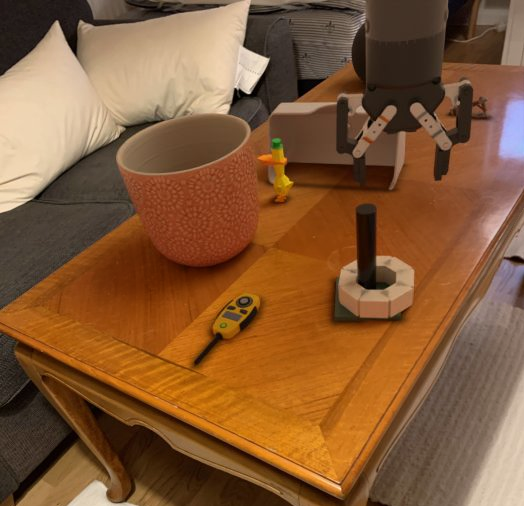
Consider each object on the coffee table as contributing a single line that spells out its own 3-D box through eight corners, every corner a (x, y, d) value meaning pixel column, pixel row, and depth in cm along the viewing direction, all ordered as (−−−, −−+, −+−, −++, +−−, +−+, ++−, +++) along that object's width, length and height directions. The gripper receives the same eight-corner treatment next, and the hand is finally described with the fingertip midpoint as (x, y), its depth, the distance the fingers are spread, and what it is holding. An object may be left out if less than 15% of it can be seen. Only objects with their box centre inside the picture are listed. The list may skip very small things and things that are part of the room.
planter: (193, 208, 102) (166, 110, 88) (288, 222, 93) (274, 115, 80) (129, 271, 90) (87, 167, 76) (231, 293, 81) (204, 181, 68)
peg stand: (397, 281, 77) (401, 187, 67) (400, 322, 71) (405, 226, 61) (336, 283, 79) (331, 192, 68) (334, 323, 73) (328, 230, 62)
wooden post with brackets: (490, 117, 108) (484, 96, 106) (455, 128, 114) (449, 107, 112) (494, 114, 109) (488, 92, 107) (459, 124, 115) (453, 104, 113)
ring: (398, 264, 78) (399, 247, 76) (427, 308, 70) (429, 291, 68) (329, 280, 78) (328, 264, 76) (351, 327, 70) (350, 310, 68)
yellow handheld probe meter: (265, 295, 77) (206, 363, 68) (267, 305, 78) (210, 372, 70) (239, 287, 79) (178, 352, 71) (241, 297, 80) (182, 362, 72)
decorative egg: (405, 74, 134) (408, 7, 124) (396, 93, 127) (398, 23, 116) (358, 76, 139) (357, 11, 128) (346, 94, 131) (344, 27, 120)
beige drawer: (410, 151, 105) (414, 86, 96) (394, 192, 95) (396, 123, 86) (294, 148, 114) (287, 89, 105) (268, 185, 104) (258, 122, 95)
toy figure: (260, 204, 99) (250, 143, 91) (268, 194, 101) (259, 134, 93) (292, 208, 96) (285, 145, 88) (300, 198, 99) (293, 136, 90)
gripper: (477, 4, 51) (458, 160, 62) (332, 24, 54) (339, 170, 65) (490, 26, 46) (467, 192, 57) (329, 47, 49) (337, 201, 60)
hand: (399, 180), depth 61 cm, fingers open, 8 cm apart
